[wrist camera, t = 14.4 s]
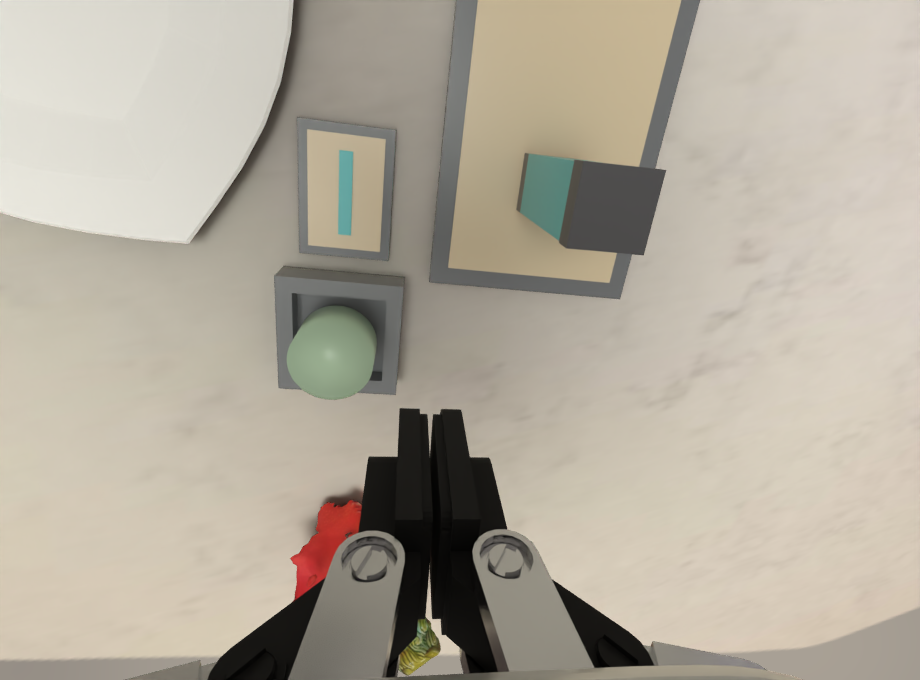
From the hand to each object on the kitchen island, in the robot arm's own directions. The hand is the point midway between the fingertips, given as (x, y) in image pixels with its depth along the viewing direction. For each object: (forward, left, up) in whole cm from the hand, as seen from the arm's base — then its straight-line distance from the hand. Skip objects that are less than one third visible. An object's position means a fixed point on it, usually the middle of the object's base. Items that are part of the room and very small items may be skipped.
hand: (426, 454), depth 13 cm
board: (-9, +7, -17) cm, 20 cm away
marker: (-6, +7, -16) cm, 19 cm away
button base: (+3, -4, -17) cm, 18 cm away
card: (-5, -4, -17) cm, 18 cm away
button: (+3, -4, -15) cm, 16 cm away
